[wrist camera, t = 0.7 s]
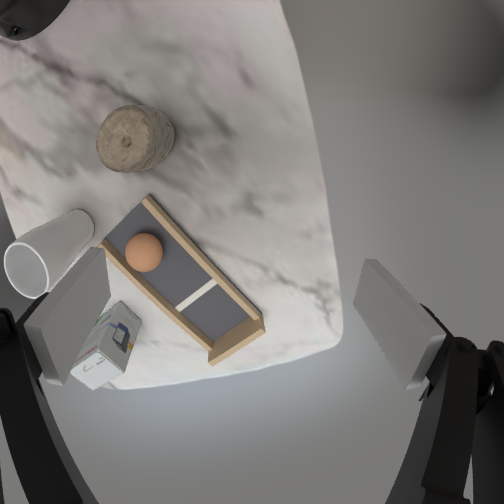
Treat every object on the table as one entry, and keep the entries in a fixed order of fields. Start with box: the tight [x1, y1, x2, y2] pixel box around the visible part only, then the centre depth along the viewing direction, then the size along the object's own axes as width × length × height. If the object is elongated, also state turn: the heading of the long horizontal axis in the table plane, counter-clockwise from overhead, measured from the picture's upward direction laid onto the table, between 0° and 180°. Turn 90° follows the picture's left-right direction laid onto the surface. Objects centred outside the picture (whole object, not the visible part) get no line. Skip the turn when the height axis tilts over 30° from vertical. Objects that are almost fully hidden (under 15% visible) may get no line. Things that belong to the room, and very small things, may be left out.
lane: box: [97, 194, 266, 366], centre depth 41 cm, size 24×10×5 cm, turn 39°
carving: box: [96, 105, 175, 173], centre depth 30 cm, size 6×8×12 cm
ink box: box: [70, 301, 141, 391], centre depth 40 cm, size 9×5×12 cm, turn 126°
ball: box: [125, 233, 163, 272], centre depth 38 cm, size 5×5×5 cm
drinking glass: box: [4, 210, 94, 299], centre depth 32 cm, size 7×7×15 cm
